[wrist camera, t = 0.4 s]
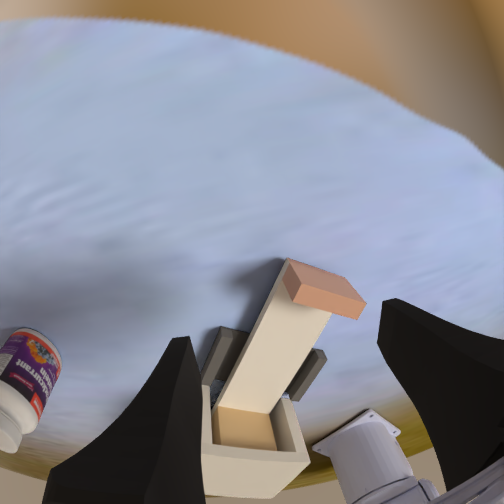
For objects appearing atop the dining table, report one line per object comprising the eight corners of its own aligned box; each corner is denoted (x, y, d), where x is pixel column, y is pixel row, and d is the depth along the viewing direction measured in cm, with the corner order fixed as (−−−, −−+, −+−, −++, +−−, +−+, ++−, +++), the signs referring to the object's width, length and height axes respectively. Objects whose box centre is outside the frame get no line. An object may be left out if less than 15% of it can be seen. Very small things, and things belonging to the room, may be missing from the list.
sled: (344, 277, 21) (376, 315, 17) (237, 450, 28) (243, 489, 23) (286, 257, 20) (309, 296, 16) (193, 443, 27) (194, 485, 22)
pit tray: (322, 350, 24) (327, 359, 23) (295, 392, 26) (298, 401, 25) (221, 326, 22) (221, 336, 21) (200, 373, 24) (200, 384, 23)
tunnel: (291, 399, 26) (310, 462, 20) (260, 441, 28) (271, 498, 22) (197, 381, 24) (198, 453, 17) (177, 428, 26) (176, 490, 20)
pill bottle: (74, 370, 22) (40, 461, 13) (35, 378, 22) (-1, 457, 13) (39, 319, 20) (-15, 406, 11) (1, 332, 20) (-50, 408, 11)
